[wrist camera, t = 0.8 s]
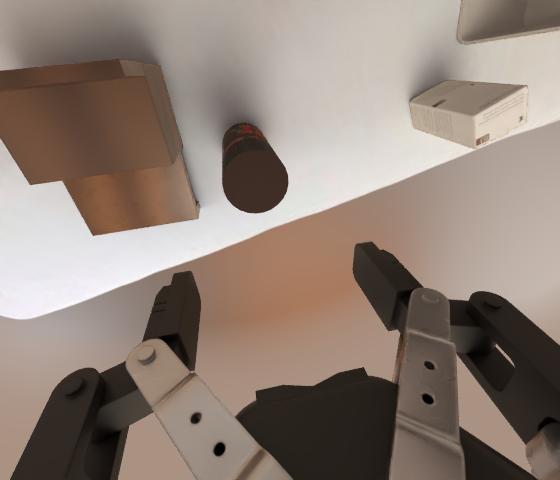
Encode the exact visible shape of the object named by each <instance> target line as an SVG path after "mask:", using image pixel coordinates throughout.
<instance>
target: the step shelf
mask: <svg viewBox="0 0 560 480" xmlns="http://www.w3.org/2000/svg"><path fill="white" fill-rule="evenodd" d="M0 138H1V140H2V141H3V143H4V144H5V146H6V147H7V149H8V151H9V152H10V154H11V155H12V157H13V159H14V160H15V162H16V163H17V165H18V167H19V168H20V170H21V171H22V173H23V174H24V176H25V178H26V179H27V181H28V182H29V184H30V185H34V184H41V183H48V182H55V181H63V183H64V185H65V186H66V188H67V190H68V192H69V194H70V195H71V197H72V199H73V201H74V203H75V204H76V206H77V208H78V210H79V212H80V213H81V215H82V217H83V219H84V221H85V222H86V224H87V226H88V228H89V230H90V231H91V233H92V235H93V236H95V235H101V234H107V233H114V232H120V231H126V230H132V229H138V228H144V227H150V226H156V225H163V224H169V223H175V222H181V221H187V220H193V219H198V218H199V212H200V206H199V202H198V201H197V202H195V199H194V195H193V192H192V189H191V185H190V182H189V178H188V175H187V171H186V168H185V164H184V161H183V157H182V154H181V149H182V148H183V145H182V141H181V138H180V134H179V131H178V127H177V123H176V120H175V116H174V113H173V109H172V106H171V102H170V99H169V95H168V91H167V88H166V84H165V81H164V77H163V74H162V70H161V66H158V65H152V64H145V63H139V62H132V61H126V60H119V59H116V60H106V61H96V62H85V63H75V64H65V65H55V66H45V67H34V68H24V69H14V70H4V71H0Z"/></svg>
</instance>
